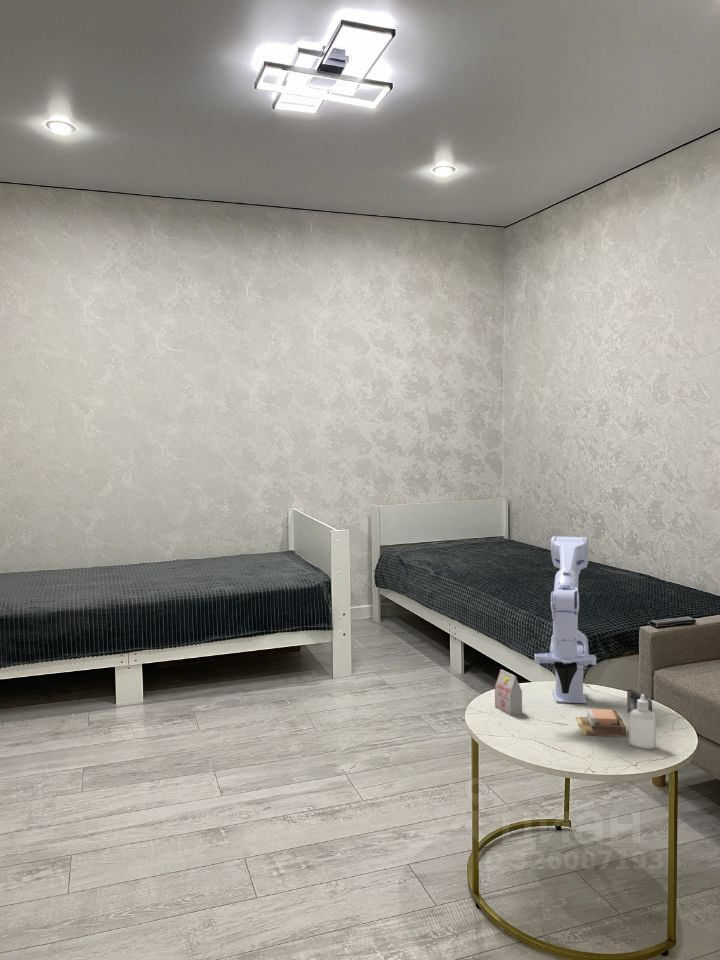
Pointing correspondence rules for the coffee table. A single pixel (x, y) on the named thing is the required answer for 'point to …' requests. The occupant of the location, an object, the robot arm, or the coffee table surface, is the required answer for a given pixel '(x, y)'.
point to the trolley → (601, 717)
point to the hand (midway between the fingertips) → (565, 692)
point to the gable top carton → (508, 694)
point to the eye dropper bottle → (642, 726)
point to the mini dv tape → (635, 701)
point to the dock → (602, 727)
